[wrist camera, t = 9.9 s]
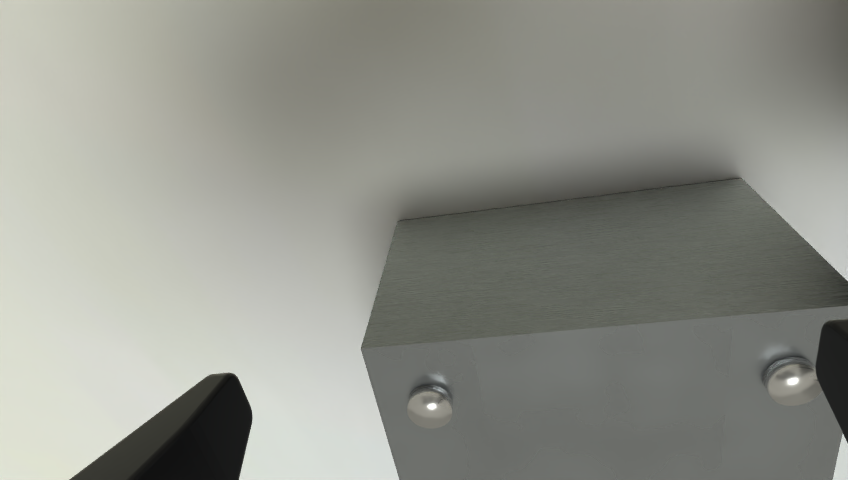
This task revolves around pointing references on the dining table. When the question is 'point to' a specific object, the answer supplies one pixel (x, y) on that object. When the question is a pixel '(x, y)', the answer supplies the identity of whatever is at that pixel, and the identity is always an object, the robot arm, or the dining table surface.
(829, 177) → the dining table surface
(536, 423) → the block
